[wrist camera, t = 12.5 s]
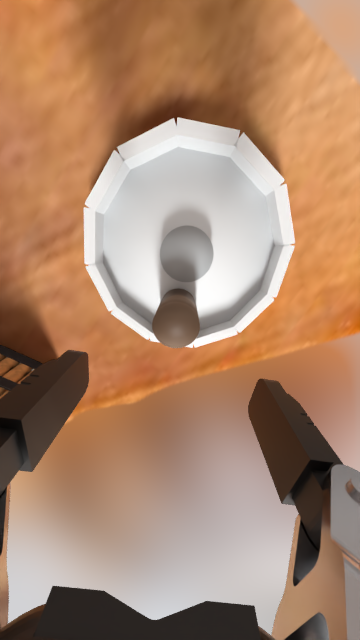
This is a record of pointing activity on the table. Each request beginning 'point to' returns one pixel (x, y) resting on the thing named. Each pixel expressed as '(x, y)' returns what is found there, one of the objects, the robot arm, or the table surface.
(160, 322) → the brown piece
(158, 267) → the ring tray
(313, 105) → the table surface
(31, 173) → the table surface
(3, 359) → the ammunition clip
